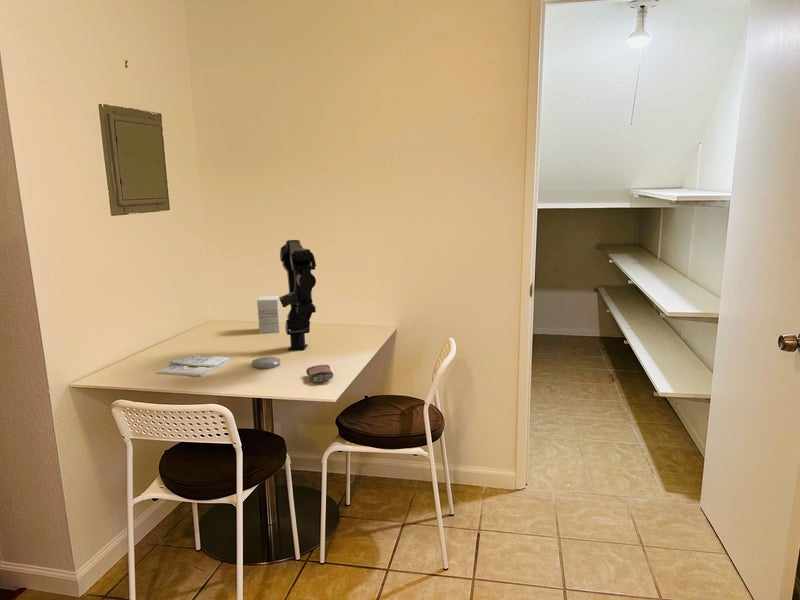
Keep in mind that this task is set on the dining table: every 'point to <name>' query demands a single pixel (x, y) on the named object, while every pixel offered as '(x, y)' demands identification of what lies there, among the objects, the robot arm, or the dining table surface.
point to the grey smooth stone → (266, 363)
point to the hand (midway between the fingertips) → (305, 327)
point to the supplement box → (268, 314)
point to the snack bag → (195, 361)
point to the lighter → (319, 373)
